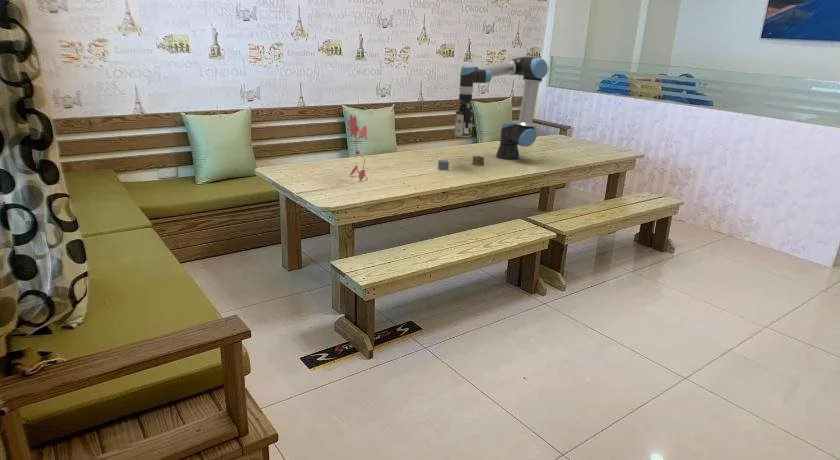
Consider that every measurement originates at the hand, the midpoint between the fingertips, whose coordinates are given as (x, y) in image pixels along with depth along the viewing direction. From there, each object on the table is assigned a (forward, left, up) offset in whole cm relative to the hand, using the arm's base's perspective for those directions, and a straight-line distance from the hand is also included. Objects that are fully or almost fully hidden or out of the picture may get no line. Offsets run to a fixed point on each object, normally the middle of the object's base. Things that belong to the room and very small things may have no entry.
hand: (463, 131), depth 324 cm
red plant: (+68, +24, -22) cm, 75 cm away
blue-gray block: (+12, +4, -22) cm, 25 cm away
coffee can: (0, 0, -3) cm, 3 cm away
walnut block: (-13, -6, -22) cm, 26 cm away
